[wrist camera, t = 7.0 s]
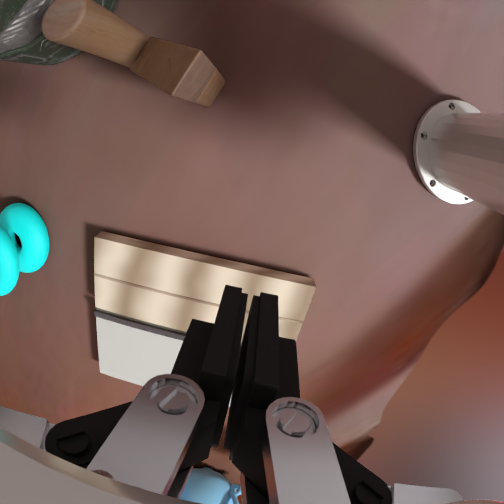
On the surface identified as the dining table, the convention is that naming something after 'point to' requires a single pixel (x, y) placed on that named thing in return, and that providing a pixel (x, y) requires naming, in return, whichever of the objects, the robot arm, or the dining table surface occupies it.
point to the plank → (187, 284)
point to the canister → (32, 33)
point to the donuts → (32, 239)
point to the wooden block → (133, 50)
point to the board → (135, 347)
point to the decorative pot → (210, 488)
